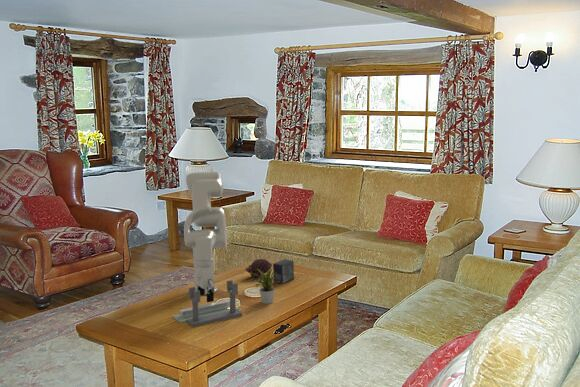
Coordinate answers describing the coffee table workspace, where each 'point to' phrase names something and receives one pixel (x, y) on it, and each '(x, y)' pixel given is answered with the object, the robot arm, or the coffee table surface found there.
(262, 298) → the house plant
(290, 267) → the small box
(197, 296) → the grey base with uprights
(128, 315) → the coffee table surface
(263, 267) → the pine cone
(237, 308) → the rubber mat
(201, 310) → the steel rail
